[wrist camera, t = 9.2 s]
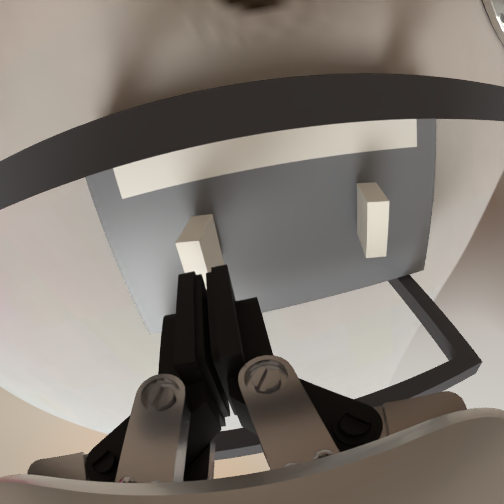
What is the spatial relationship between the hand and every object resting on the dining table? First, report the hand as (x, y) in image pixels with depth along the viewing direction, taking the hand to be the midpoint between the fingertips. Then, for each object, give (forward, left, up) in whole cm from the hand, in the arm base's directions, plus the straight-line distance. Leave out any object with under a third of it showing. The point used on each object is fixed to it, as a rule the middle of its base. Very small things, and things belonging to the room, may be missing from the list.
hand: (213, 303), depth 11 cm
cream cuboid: (-7, +4, -5) cm, 9 cm away
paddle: (0, 0, -5) cm, 5 cm away
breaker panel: (-4, +2, -8) cm, 9 cm away
